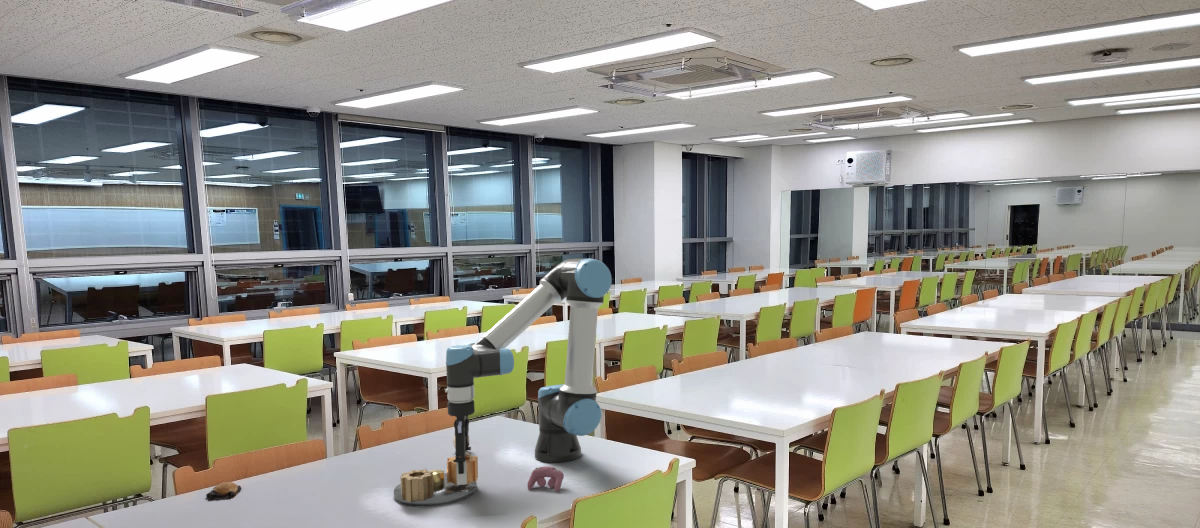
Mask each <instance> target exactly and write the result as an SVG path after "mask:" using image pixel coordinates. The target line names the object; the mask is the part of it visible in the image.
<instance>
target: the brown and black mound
mask: <svg viewBox="0 0 1200 528" xmlns="http://www.w3.org/2000/svg"><path fill="white" fill-rule="evenodd" d="M241 491H242V486H241V485H238V484H236V482H235V483H234V482H232V481H224V482H221V483H218V485H215V486H214V487H213V488H212V490H211V491H210V492H208V493H206V495H205V497H206V500H207V501H208V502H217V501H227V500H231V499H234V498H236V497H237V496H238V494H239V493H240V492H241Z"/></svg>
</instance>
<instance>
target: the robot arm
mask: <svg viewBox="0 0 1200 528" xmlns="http://www.w3.org/2000/svg"><path fill="white" fill-rule="evenodd" d="M612 280H613V279H612V274H611V271H610V269H609V267H608V266H607V265H606V264H605V263H604V262H602V261H601V260H598V259H594V258H591V257H589V258H577V257H576V258H575V257H573V258H572V257H571V258H568V259H566V260H563V261H561V262H560V263H558V264H557V265H556V266H555V267H554V268H552V269H551V270H549V272H548V273H546V275H544V276H543V277H542V278H541V279H540V280H539V285H538V286H537V287H535V289H533V290H532V292H530V293H529V294H528V295H527V296H526V297H524V298H523V300H521V301H520V302H519V303H518V304H517V305H516V306H515V307H513V309H511V310H510V311H509V312H508V313H507V314H506V315H505V316H504V317H502V319H500V320H499V321H498V322H496V323H495V325H494V326H492V328H490V329H489V330H488V331H486V333H485V334H483V336H481V337H480V338H479V339H478V340H476V341H475V342H471V343H468V344H461V345H460V344H456V345H451V346H449V347H448V348H447V349H446V351H445V353H446V354H445V367H446V386H447V387H446V389H444V392H445V393H447V400H448V402H447V414H448V416H450V417H456V419H455V420H454V422H453V428H454V434H455V447H454V449H455V456H456V459H455V460H454V462H456V472H457V485H465V484H467V469H466V458H465V455H467V454H469V455H470V451H472V446H470V443H469V439H470V436H468V435H469V431H470V427H469V426H470V419H469V416H472V415H474V413H475V411H476V410H475V400H474V399H475V381H474V380H475V379H477V378H484V377H492V376H502V375H507V374H510V373H512V372H513V370H514V367H515V357H514V354H513V352H512V350H511V349H510V348H507V347H508V346H510V344H511V343H513V342H514V341H515V340H516V339H517V338H518V337H520V336H521V334H522V333H524V332H525V331H526V330H527V329H528V328H529V327H530V326H531V325H532V324H534V322H535V321H537V320H538V319H539V318H540V317H541V316H542V315H543V314H545V313H546V312H547V311H548V310H549V309H550V308H552V306H553V305H554V304H556V303H558V304H560V303H561V302H562V301H564V299H565V301H566V303H568V305H569V307H570V308H569V309H570V310H569V321H568V323H569V324H568V333H567V334H568V335H567V347H566V360H565V362H566V363H565V374H564V375H565V376H564V383H563V384H554V385H553V384H552V385H547V386H543V387H540V388H539V390H538V391H537V393H538V394H537V395H538V396H537V402H538V403H537V405H538V426H539V427H538V428H539V429H538V430H539V432H538V433H539V434H538V436H537V437H538V438H537V440H536V444H535V447H534V458H535V459H536V460H538V461H541V462H545V463H565V462H569V461H570V462H571V461H574V460H576V459H578V458H580V457H581V456H582V447H581V445H580V442H579V439H578V438H579V437H582V436H583V437H584V436H587V435H590V434H592V433H593V432H594V431H595V430H596V429H597V427H598V426H599V424H600V422H601V419H602V408H601V407H600V405H599V404H598V402H597V394H598V393H597V392H598V391H597V389H596V388H595V387H594V386H593V379H594V365H595V354H596V353H595V352H596V341H597V340H596V339H597V327H598V325H597V324H598V315H599V314H598V313H599V308H600V307H601V306H602V305H603V304H604V300H605V299H604V297H605V295H606V294H607V293H608V292H609V291H610V289H611V286H612Z"/></svg>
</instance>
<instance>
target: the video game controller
mask: <svg viewBox="0 0 1200 528" xmlns="http://www.w3.org/2000/svg"><path fill="white" fill-rule="evenodd" d="M564 476H565V474H564V472H563V471H562V470H560V469H558V468H557V467H553V466H547V465H545V466H539V467H535V468H534V469H533V470H532V472H531V474H530V476H529V478H528V482H527V489H528V490H531V489H532V488H533V487H534V486H535V484H537V486H539V487H541V488H542V487H543V488H544V487H545V486H546V484H547V486H548V487H549V488H551V489H554V491H555V492H556V493H558V492H559V491H560V489H561V487H562V484H563V480H564ZM545 478H550V479H548V480H546V479H545ZM536 482H537V483H536Z"/></svg>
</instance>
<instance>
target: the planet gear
mask: <svg viewBox="0 0 1200 528" xmlns="http://www.w3.org/2000/svg"><path fill="white" fill-rule="evenodd" d="M465 458H466V469H467V484H470V482H473V481H475V482H476V483H477V481H478V480H479V479H478V478H479V466H478V465H479V461H478V459H479V458H478V456H477V455H472V454H470V453H469V454H467V455H465ZM455 459H456V455H455V456H450V457H448V458H447V460H446V473H447V482H448V483H454V485H457V472H456V462H454V460H455Z"/></svg>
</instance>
